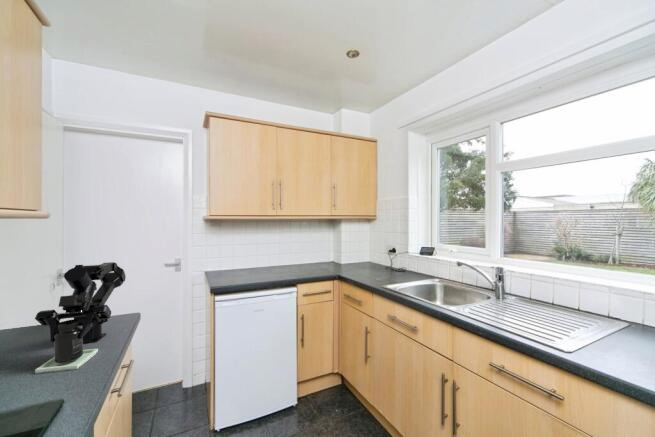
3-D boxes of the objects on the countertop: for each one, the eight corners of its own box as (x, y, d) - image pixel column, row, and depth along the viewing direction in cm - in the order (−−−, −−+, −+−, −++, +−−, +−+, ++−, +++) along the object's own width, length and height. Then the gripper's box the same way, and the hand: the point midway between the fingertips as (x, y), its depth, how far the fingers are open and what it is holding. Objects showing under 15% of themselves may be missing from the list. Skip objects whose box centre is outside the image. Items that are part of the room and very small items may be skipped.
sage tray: (61, 355, 93) (61, 351, 92) (98, 351, 95) (98, 348, 95) (35, 373, 82) (35, 369, 82) (77, 369, 84) (77, 365, 84)
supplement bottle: (81, 350, 93) (80, 316, 93) (85, 357, 89) (84, 321, 89) (52, 358, 88) (52, 322, 88) (55, 366, 84) (55, 328, 83)
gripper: (37, 286, 88) (14, 335, 78) (107, 282, 95) (94, 325, 85) (52, 302, 96) (32, 348, 86) (116, 297, 102) (104, 339, 93)
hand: (66, 340), depth 87 cm, fingers closed on supplement bottle, 7 cm apart
